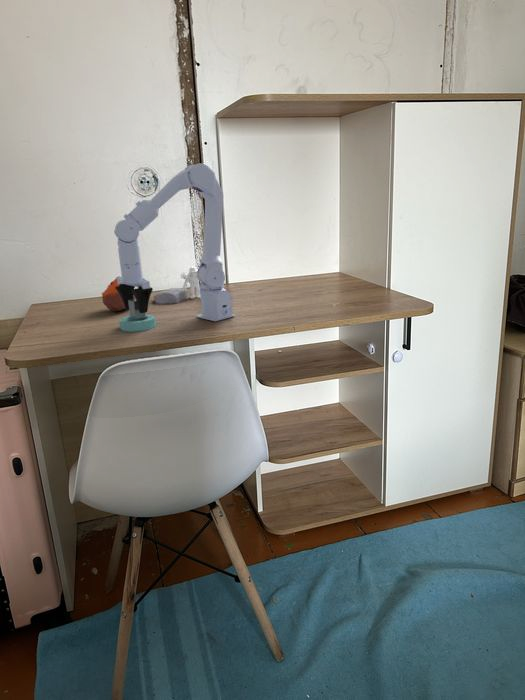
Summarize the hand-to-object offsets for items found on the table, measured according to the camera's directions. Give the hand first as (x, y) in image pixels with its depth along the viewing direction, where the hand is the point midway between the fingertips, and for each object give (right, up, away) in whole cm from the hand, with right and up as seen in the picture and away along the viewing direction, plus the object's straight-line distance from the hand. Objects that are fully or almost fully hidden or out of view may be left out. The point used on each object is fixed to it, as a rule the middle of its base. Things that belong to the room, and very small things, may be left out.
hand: (136, 310), depth 156 cm
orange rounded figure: (-11, +2, +24) cm, 26 cm away
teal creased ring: (0, -5, +1) cm, 5 cm away
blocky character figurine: (+12, +7, +37) cm, 40 cm away
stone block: (+4, +6, +36) cm, 37 cm away
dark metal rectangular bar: (0, -5, +2) cm, 5 cm away
